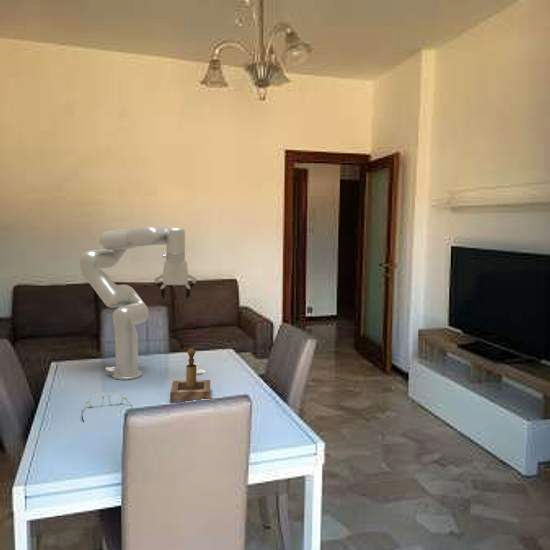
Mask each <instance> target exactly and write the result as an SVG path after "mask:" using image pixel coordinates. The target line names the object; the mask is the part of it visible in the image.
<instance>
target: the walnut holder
mask: <svg viewBox="0 0 550 550" xmlns="http://www.w3.org/2000/svg"><path fill="white" fill-rule="evenodd" d="M185 385H186V379H185V380H172V383H171V388H170V394H169V395H170V399H169V401H170V403H171V404H172V403H173V404H174V403H175V404H177V403H179V402H182V403H186V402H185V401H193V400H201V399H210V400H211V379H196V385H198V386H199V387H200V390H183V387H184V386H185Z"/></svg>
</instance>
